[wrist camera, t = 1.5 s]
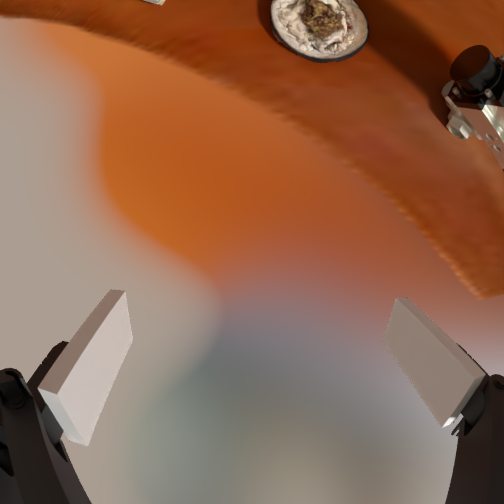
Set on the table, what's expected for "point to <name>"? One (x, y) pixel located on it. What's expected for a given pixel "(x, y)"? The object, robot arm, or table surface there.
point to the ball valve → (477, 98)
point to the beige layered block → (156, 1)
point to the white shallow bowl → (320, 28)
